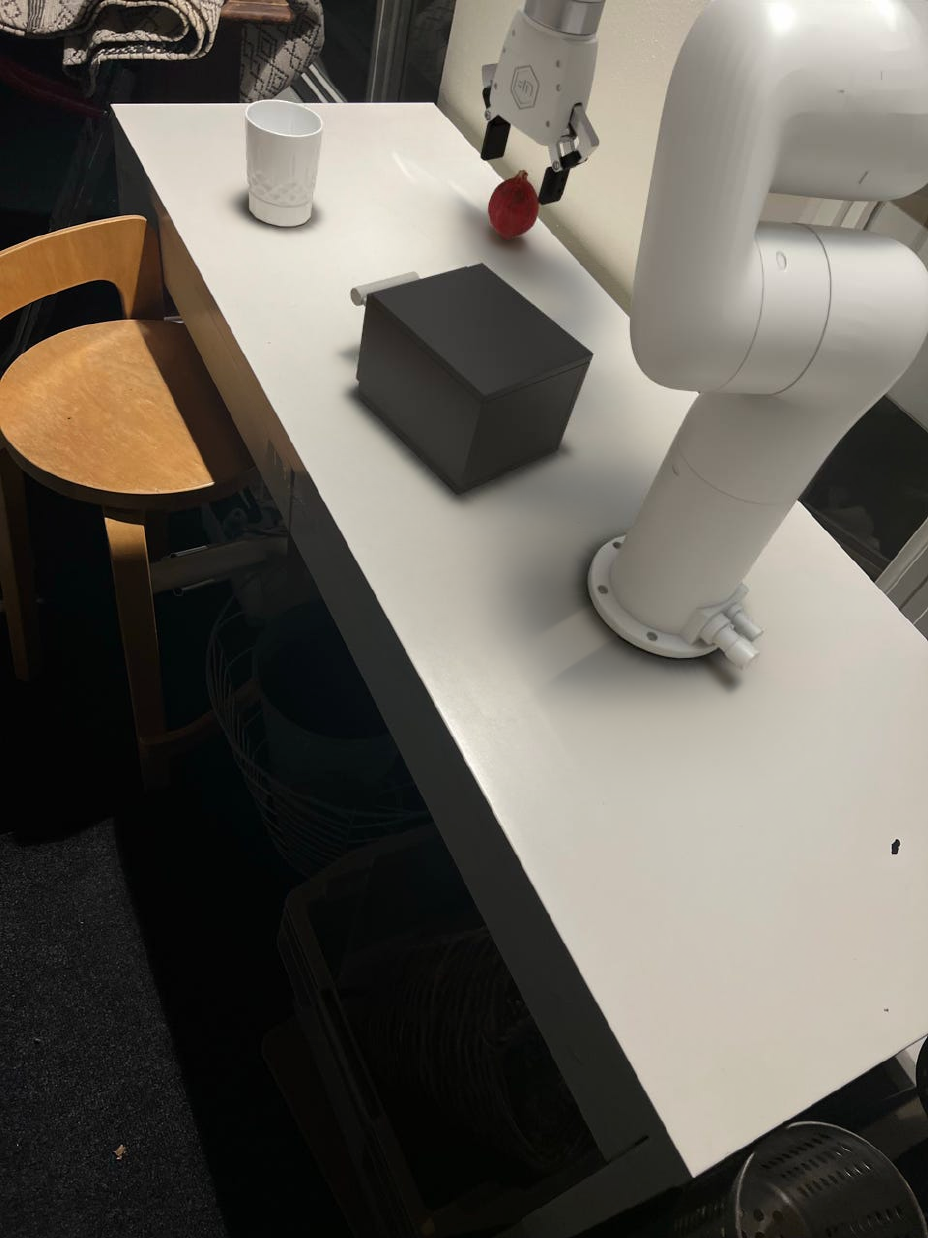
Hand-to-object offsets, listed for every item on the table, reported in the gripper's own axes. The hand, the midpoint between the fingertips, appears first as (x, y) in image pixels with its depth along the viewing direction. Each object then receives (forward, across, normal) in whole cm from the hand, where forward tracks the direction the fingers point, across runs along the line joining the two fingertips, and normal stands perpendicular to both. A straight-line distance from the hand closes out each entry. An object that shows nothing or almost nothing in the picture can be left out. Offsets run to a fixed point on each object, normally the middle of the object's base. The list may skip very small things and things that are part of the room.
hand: (519, 179), depth 101 cm
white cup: (+7, -14, -22) cm, 27 cm away
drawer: (+6, +19, -27) cm, 34 cm away
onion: (+7, 0, 0) cm, 7 cm away
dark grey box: (+6, +23, -27) cm, 36 cm away
